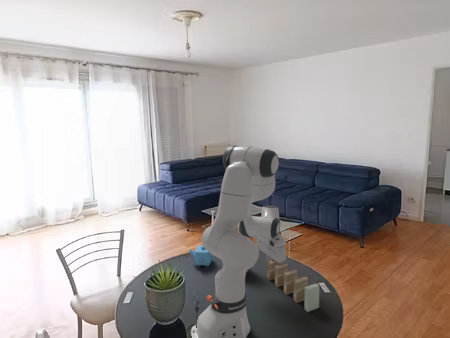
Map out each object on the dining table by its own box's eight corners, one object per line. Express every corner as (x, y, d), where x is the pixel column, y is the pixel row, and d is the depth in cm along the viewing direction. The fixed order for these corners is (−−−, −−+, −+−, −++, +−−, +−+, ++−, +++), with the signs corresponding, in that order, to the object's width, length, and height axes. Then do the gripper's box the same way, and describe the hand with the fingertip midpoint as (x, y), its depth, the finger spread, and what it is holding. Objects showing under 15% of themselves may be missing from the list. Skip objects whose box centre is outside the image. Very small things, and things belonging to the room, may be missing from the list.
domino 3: (297, 291, 141) (297, 270, 139) (286, 294, 138) (286, 274, 137) (294, 289, 143) (294, 269, 141) (283, 292, 140) (283, 272, 138)
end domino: (318, 307, 128) (319, 285, 127) (307, 311, 126) (308, 289, 124) (315, 305, 130) (316, 283, 128) (304, 309, 128) (304, 287, 126)
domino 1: (279, 277, 153) (280, 260, 150) (269, 280, 151) (270, 262, 148) (276, 274, 155) (278, 257, 152) (266, 278, 152) (268, 260, 149)
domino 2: (287, 283, 147) (287, 264, 145) (277, 287, 144) (277, 267, 143) (285, 281, 149) (285, 262, 147) (274, 285, 146) (274, 265, 145)
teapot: (212, 271, 161) (211, 253, 159) (186, 270, 163) (185, 253, 161) (217, 256, 179) (216, 239, 177) (193, 255, 180) (192, 239, 179)
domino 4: (307, 299, 135) (307, 277, 133) (296, 302, 132) (296, 281, 130) (304, 296, 136) (304, 275, 135) (293, 300, 134) (293, 279, 132)
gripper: (253, 231, 159) (254, 256, 161) (277, 245, 141) (277, 273, 143) (263, 229, 161) (264, 254, 164) (288, 243, 143) (288, 270, 146)
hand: (270, 263), depth 153 cm, fingers closed
